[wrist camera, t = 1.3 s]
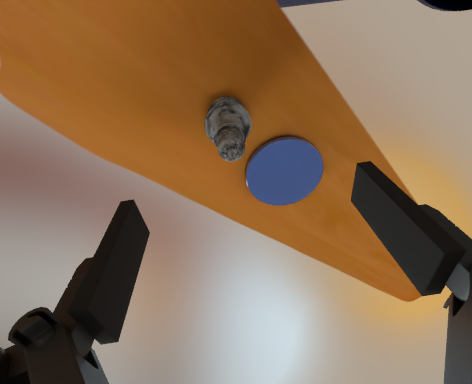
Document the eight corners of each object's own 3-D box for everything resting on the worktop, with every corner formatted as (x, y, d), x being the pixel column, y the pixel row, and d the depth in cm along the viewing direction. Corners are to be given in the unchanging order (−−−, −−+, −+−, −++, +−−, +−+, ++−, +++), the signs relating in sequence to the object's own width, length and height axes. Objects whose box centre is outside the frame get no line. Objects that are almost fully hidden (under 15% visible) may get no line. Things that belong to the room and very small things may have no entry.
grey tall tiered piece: (200, 99, 32) (195, 134, 22) (244, 89, 32) (258, 122, 22) (210, 140, 36) (210, 187, 26) (251, 132, 35) (265, 176, 26)
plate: (325, 131, 36) (329, 135, 35) (314, 197, 43) (317, 202, 42) (244, 138, 36) (245, 142, 35) (246, 203, 43) (247, 208, 42)
